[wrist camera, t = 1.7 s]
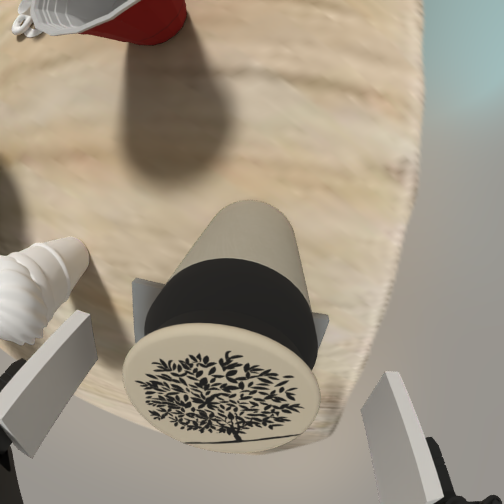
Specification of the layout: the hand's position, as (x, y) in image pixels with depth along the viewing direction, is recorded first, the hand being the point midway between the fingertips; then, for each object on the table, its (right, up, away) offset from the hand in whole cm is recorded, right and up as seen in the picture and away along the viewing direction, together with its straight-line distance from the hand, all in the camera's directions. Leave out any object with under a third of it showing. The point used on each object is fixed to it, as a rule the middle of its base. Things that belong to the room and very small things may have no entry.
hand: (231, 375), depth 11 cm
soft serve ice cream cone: (-19, +5, +17) cm, 26 cm away
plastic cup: (-8, +26, +8) cm, 29 cm away
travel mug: (+1, +6, +15) cm, 16 cm away
